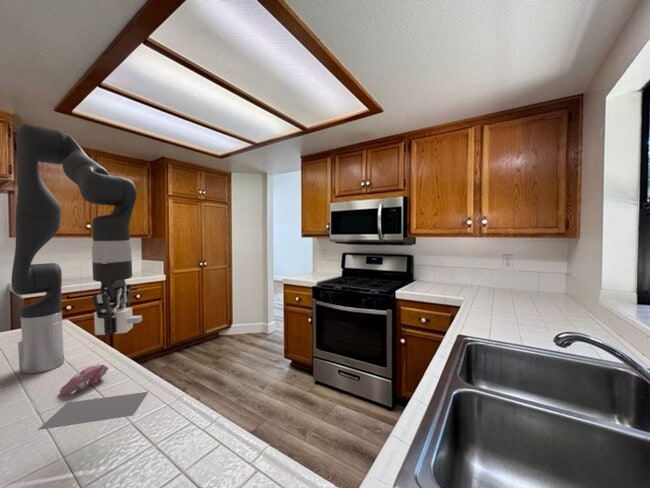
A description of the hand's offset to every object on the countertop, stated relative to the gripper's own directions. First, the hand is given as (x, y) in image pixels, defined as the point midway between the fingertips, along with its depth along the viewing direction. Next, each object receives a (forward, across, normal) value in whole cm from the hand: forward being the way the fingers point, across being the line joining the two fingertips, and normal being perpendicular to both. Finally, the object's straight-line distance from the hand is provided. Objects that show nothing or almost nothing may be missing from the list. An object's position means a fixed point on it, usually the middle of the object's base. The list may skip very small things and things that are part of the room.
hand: (115, 330), depth 68 cm
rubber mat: (+19, 0, -4) cm, 20 cm away
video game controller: (+20, -13, -13) cm, 27 cm away
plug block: (0, 0, 0) cm, 0 cm away
